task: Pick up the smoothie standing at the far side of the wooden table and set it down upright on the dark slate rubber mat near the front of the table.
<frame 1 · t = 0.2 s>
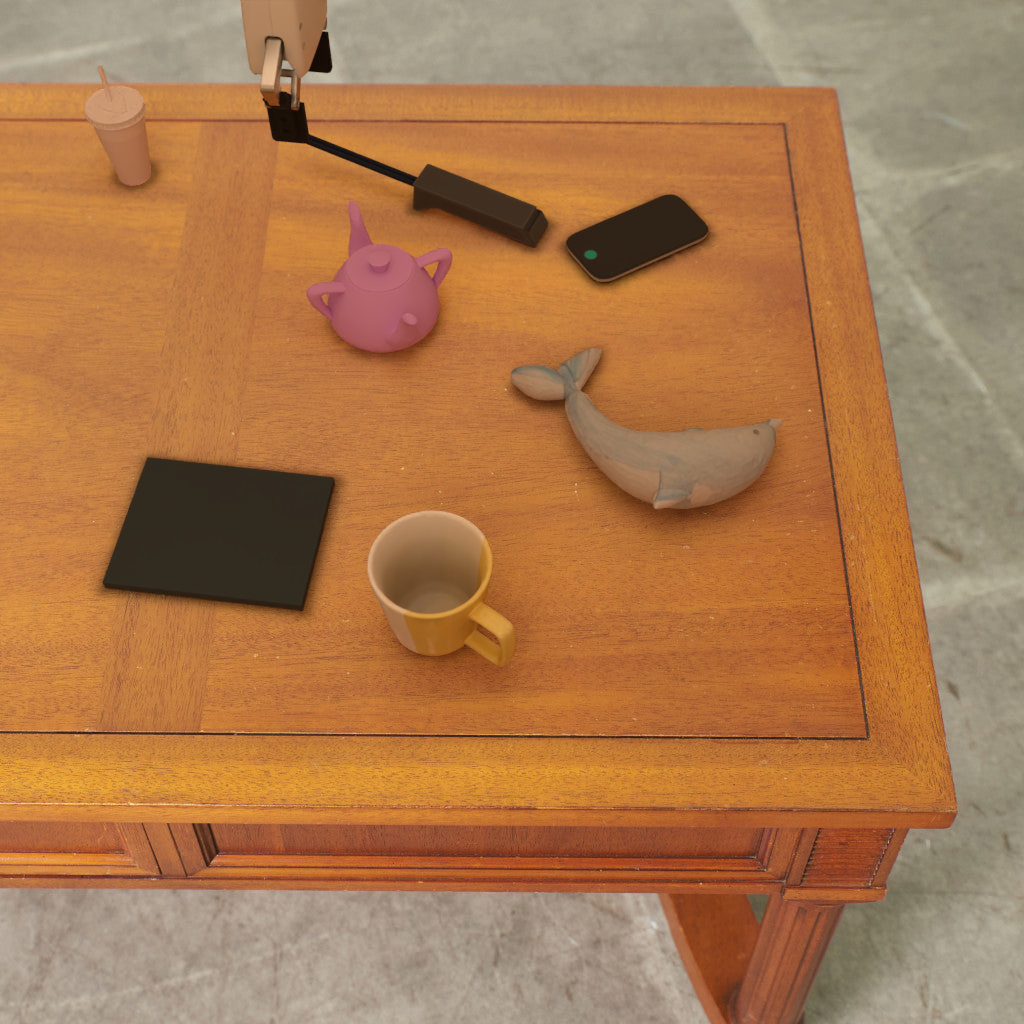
hand: (303, 104, 114), 24 cm above the table, tool pointing down, fingers open, 9 cm apart
mug: (446, 639, 111), on the table
hook tool: (422, 197, 143), on the table
sculpture: (649, 425, 125), on the table
teapot: (385, 321, 132), on the table
smoothie: (135, 176, 144), on the table
smartphone: (636, 241, 139), on the table
mat: (223, 534, 117), on the table
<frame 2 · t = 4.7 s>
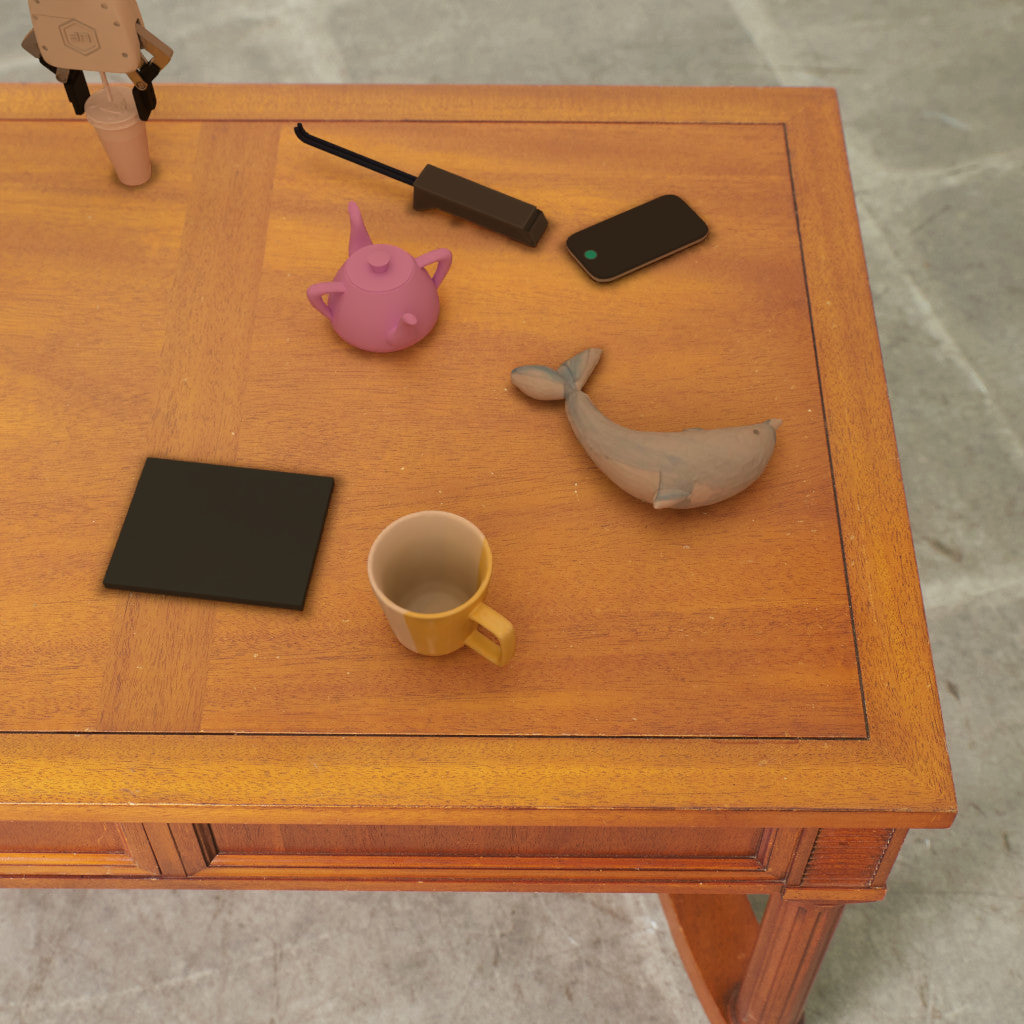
hand: (115, 108, 137), 9 cm above the table, tool pointing down, fingers closed on smoothie, 6 cm apart
smoothie: (135, 175, 144), on the table, touching gripper
everything else where it was.
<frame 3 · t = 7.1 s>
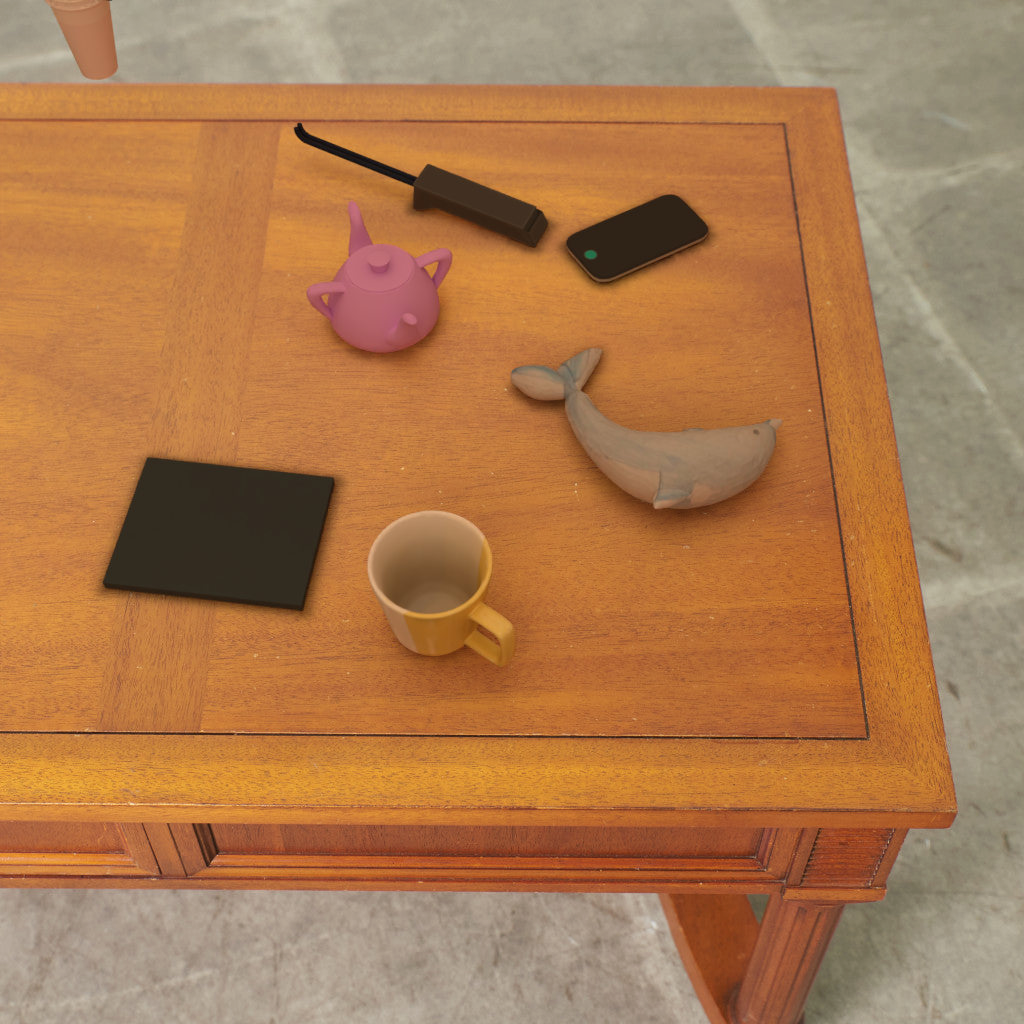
smoothie: (99, 70, 129), point 16 cm above the table, touching gripper
everything else where it was.
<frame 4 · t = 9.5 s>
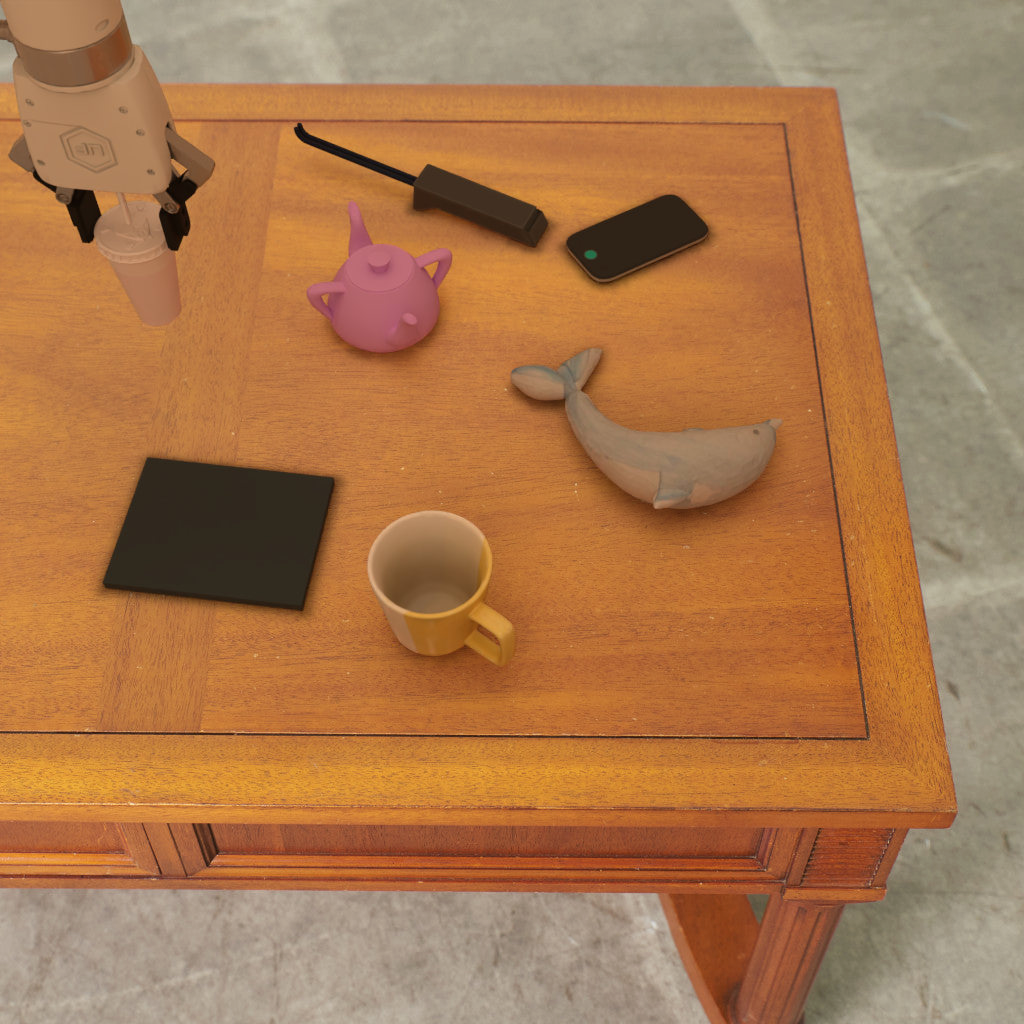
hand: (135, 233, 102), 26 cm above the table, tool pointing down, fingers closed on smoothie, 6 cm apart
smoothie: (160, 312, 110), point 17 cm above the table, touching gripper
everything else where it was.
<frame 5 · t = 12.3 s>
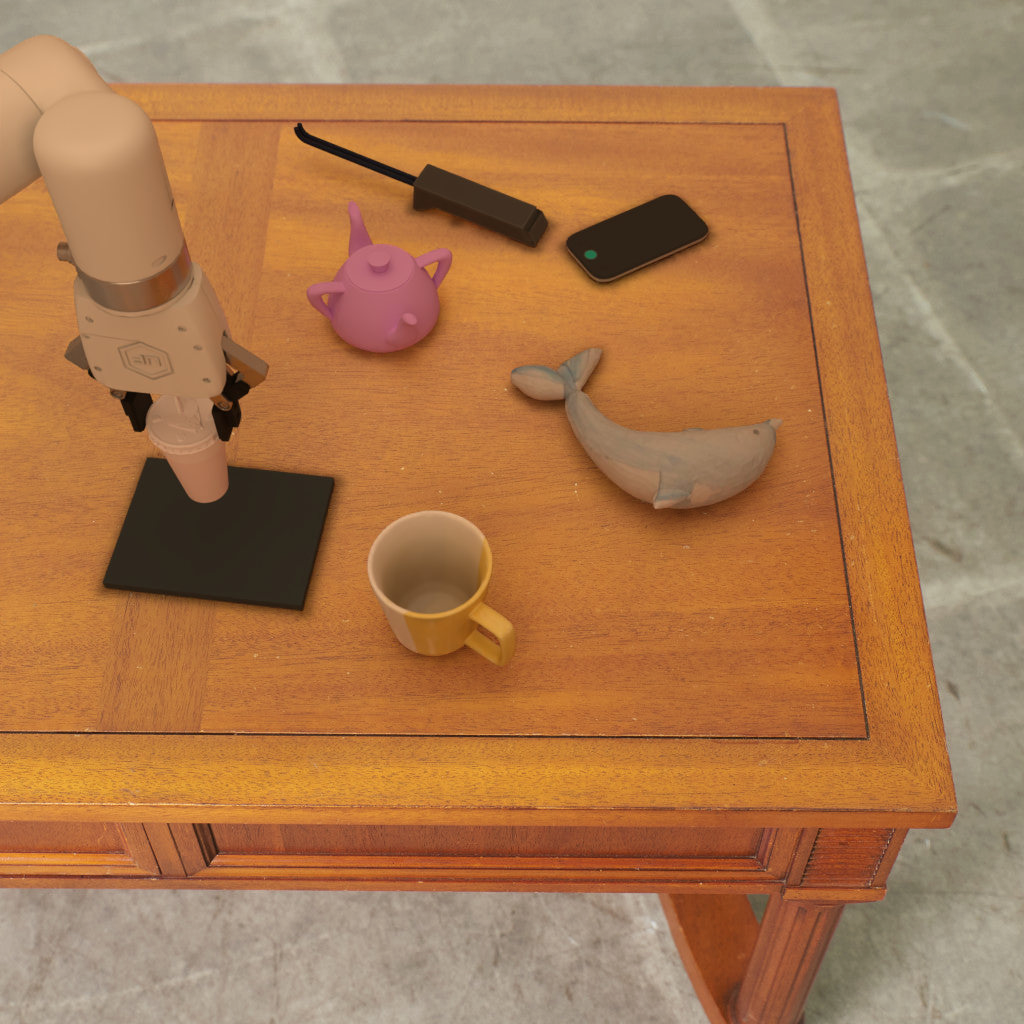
hand: (186, 421, 103), 17 cm above the table, tool pointing down, fingers closed on smoothie, 6 cm apart
smoothie: (207, 486, 111), point 7 cm above the table, touching gripper
everything else where it was.
when the fingers open (10 cm above the table, at t = 14.4 s): smoothie stays where it is, resting on mat.
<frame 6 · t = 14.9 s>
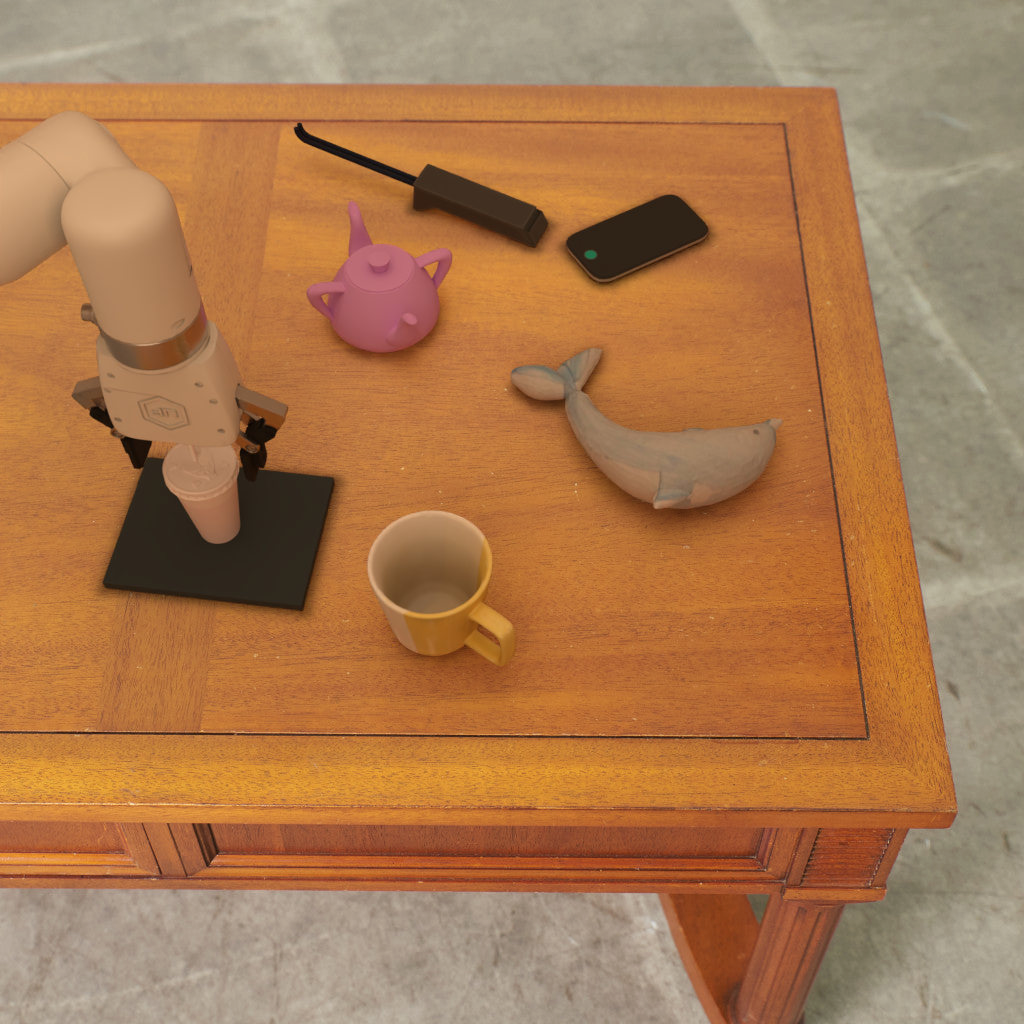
hand: (199, 461, 108), 11 cm above the table, tool pointing down, fingers open, 9 cm apart
smoothie: (220, 528, 116), point 1 cm above the table, touching mat
everything else where it was.
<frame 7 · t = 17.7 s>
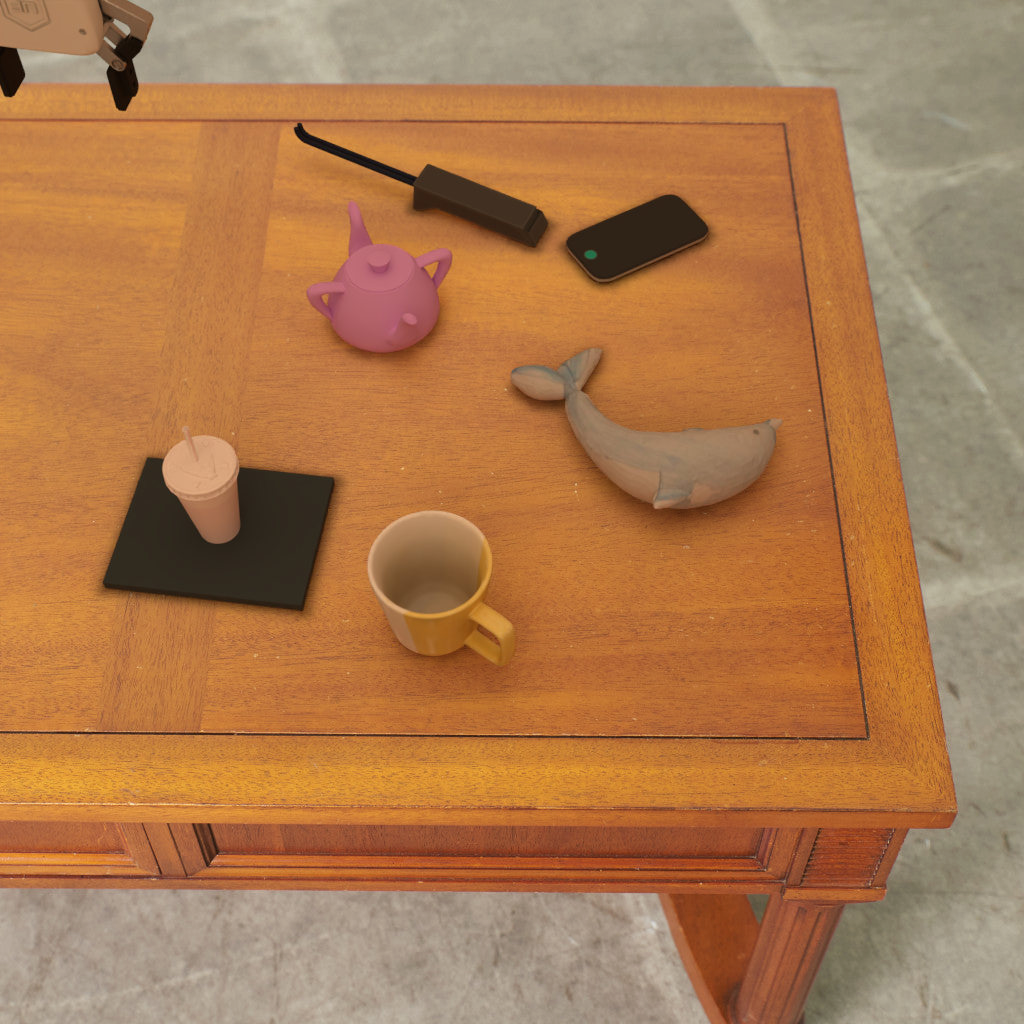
hand: (71, 93, 107), 29 cm above the table, tool pointing down, fingers open, 9 cm apart
nothing on the table moved.
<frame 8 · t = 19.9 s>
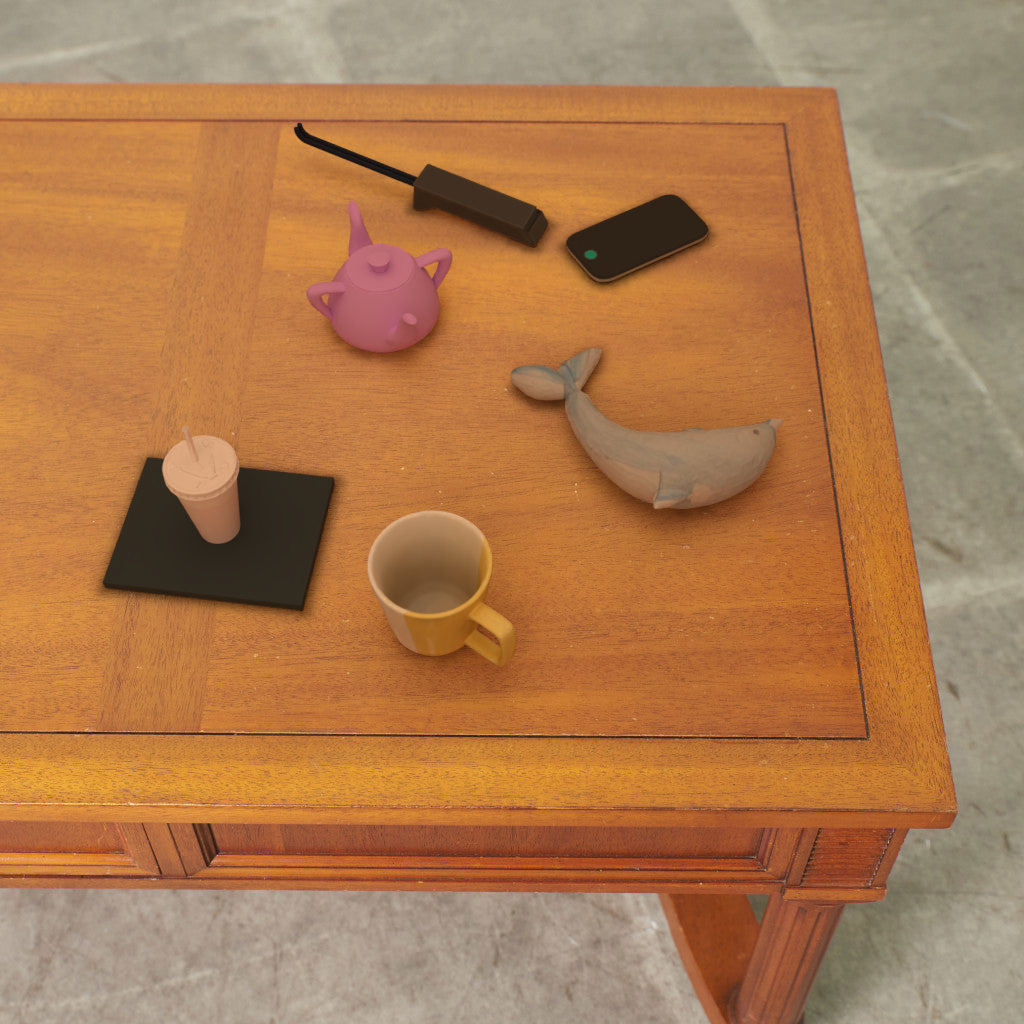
nothing on the table moved.
at the end: smoothie inside the target area on the mat (0.1 cm from its centre), point 0.8 cm above the mat's base; smoothie tilted 0°; the gripper is holding nothing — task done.
